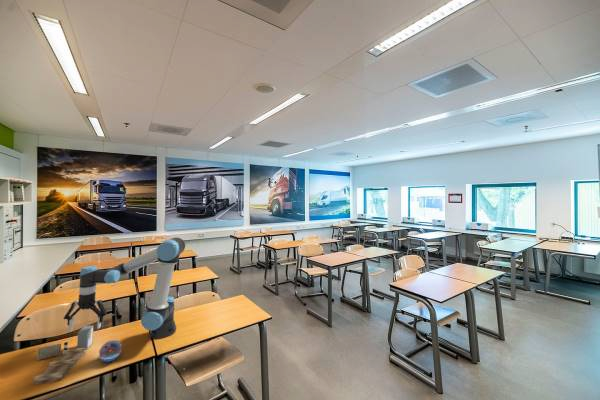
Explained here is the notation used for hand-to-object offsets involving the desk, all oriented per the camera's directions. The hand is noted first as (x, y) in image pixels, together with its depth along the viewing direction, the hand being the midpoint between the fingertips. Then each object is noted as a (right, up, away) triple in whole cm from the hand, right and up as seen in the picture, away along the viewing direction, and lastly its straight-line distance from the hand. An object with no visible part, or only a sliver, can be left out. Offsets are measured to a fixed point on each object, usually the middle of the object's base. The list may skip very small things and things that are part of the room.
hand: (85, 329), depth 145 cm
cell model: (+23, -11, -11) cm, 28 cm away
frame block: (0, -11, 0) cm, 11 cm away
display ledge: (+4, -11, -18) cm, 21 cm away
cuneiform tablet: (-10, -11, -9) cm, 17 cm away
